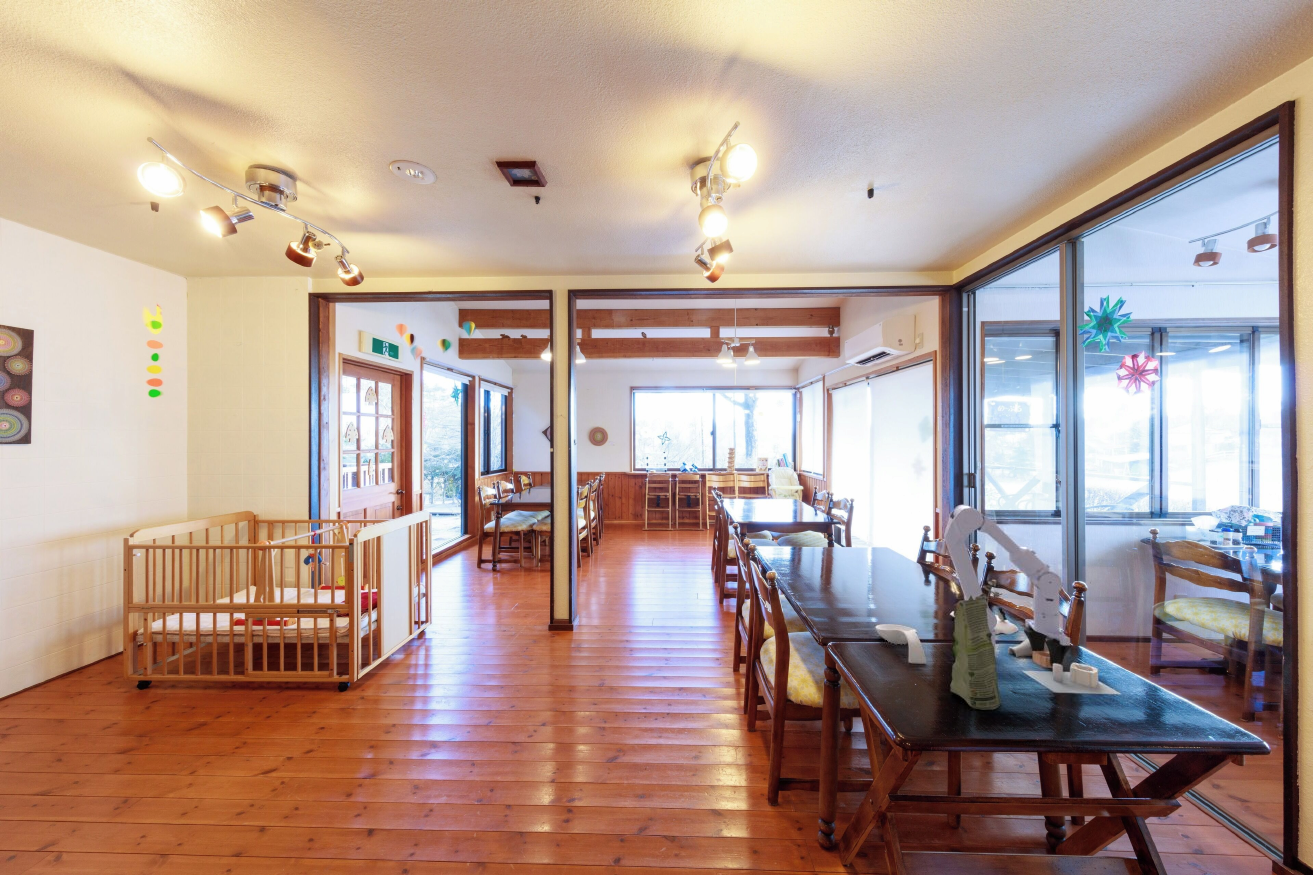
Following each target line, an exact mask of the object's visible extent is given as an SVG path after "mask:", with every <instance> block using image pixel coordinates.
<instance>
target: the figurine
mask: <svg viewBox="0 0 1313 875" xmlns="http://www.w3.org/2000/svg"><path fill="white" fill-rule="evenodd" d="M996 585H997V580H995V579H991V580H989V581H987V585H986V584H984V585H983V586H982V588H983V589H984V590H986V591H988V595H987V596H986V597H985V600H986V602H987V604H989V600H990V599H991V598H992V599H993V598H995V599H996V598H997V599H998V598H1000V596H1002V595H1003V593H1000V592H999V591H997V590H995V591H993V590H992V587H996ZM991 594H992V596H991ZM997 609H998V611H997V614H995V616H996V618H997V624H996V626H995V635H1000V634H1006V635H1012V634H1014V633H1016V632H1018V631H1019V628H1018V627H1017V626H1016V625H1015V624H1014V623H1011V622H1010V621H1009V620H1008V619H1007V617H1006V612H1005V611H1004V610H1003V608H1002V607H997ZM949 615H950V616H952V617H953V618H954V617H955V616H954V610H953V611H951V612H950V613H949Z"/></svg>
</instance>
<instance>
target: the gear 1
mask: <svg viewBox="0 0 1313 875" xmlns="http://www.w3.org/2000/svg"><path fill="white" fill-rule="evenodd" d="M1032 662H1033V663H1035V664H1036V665H1038V666H1040V667H1042V668H1046V669H1053V667H1052V666H1051V663H1050V654H1049V652H1045V651H1036V652H1035V651H1033V656H1032Z"/></svg>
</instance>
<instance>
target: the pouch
mask: <svg viewBox="0 0 1313 875" xmlns="http://www.w3.org/2000/svg"><path fill="white" fill-rule="evenodd" d="M985 597H987V595H986V593H984V592H982V594H981V595H980V596H979V597H975V599H974V600H973V598H972V596H970V598H969V600H965V599H962V600H959V601H957V603H955V604H953V608H954V610H953V611H954V616H955V617H954V616H953V619H954V631H953V634H952V636H953V637H954V645H953V646H952V652H953V654H954V655H955V662H954V663H953V664H952V666H951V670H952V671H951V677H952V679H951V683H950V692H951V693H953V694H956V695H957V696H959V697H961V698H962V699H964V701H965V702H966V703H967V704H968V705H969V707H971V708H972V709H977V710H984V711H985V710H986V711H988V710H995V709H997V708H999V707H1000V705H1001V704H1002V703H1001V696H1000V691H999V681H998V675H997V668H996V667H997V660H996V650H995V651H994V646H993V644H992V640H991V636H992V634H991V632H990V630H989V627H988V619H987V617H988V616H987V611H986V610H987V608H988V607H989V605H988V606H987V599H986V598H985Z"/></svg>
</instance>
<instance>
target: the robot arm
mask: <svg viewBox="0 0 1313 875" xmlns="http://www.w3.org/2000/svg"><path fill="white" fill-rule="evenodd" d="M975 530H976V531H979V532H981V533H983V534H987V535H988V536H990V538H991V539H992V540H994V541H995V542H996V543H997V544H998V545H1000V547H1002V548H1003V549H1004V550H1005V551H1006V552H1007V553H1008V559H1009V561H1010V562H1011V563H1012V564H1013V565H1014V566H1015V567H1016V568H1017V569H1018V570H1020V572H1021V573H1023V575H1024V576H1026V577H1027V578H1028V579H1029V580H1030V582H1031V583H1032V584H1034V585H1033V619H1025V627H1027V628H1026V629H1024V630H1023V632H1024V634H1025V635H1026V637H1027V638H1028V639H1029V642H1030V645H1031V648H1032V651H1035V652H1036V651H1044V644H1045V643H1046V645H1047V647H1048V650H1049V654H1050V663H1051V666H1052V667H1053V664H1054V663H1055V664H1060V665H1062V666H1063V662H1064V658H1065V656H1066V654H1067V653H1068V651H1069V650H1070V649H1071V648H1072V643H1071V638H1070V637H1068V635H1066V634H1064V629H1063V628H1061V626H1060V591H1061V590H1062V588H1063V586H1064V583H1063V582H1062V579H1061V577H1060V576H1059V574H1057V573H1055V572H1054V571H1052V570H1051V569H1050V568H1051V566H1050V565H1049V564H1048V563H1045V562H1043V561H1042V560H1041V559H1040V558H1039V557H1037V555H1036V554H1037V553H1036V551H1034V550H1033V549H1032V548H1030V549H1029V548H1028V547H1026V546H1018V544H1017V543H1015V541H1014V540H1013V539H1011V537H1010V536H1008V534H1007V533H1005V531H1004V530H1003V529H1001V527H999V526H998V525H997V524H996V523H995V521H993V520H991V519H990V518H989V517H987V516H986V515H984V514H982V513H981V512H980V510H978V509H977V508H974V507H972V506H970V505H969V504H959V505H957V506H955V507H954V509H953V510H952V511H951V512H950V513H949V515H948V520H947V524H946V527H945V530H944V533H943V538H944V542H945V544H946V547H947V550H948V553H949V556H950V559H951V561H952V564H953V567H954V570H955V573H956V575H957V578H958V582H959V585H960V587H961V590H962V592H963V593H962V594H963V600H969V598H970V596H972V598H973V600H974V599H975V597H979V596H980V595H981V594H982V593H983V591H982V588H981V585H980V583H979V579H978V577H977V574H976V571H975V568H974V566H973V563H972V560H971V557H970V554H969V552H968V548H967V545H966V542H965V541H966V540H967V538H968V537H969V535H971V534H972V533H973V532H974V531H975ZM988 604H989V603H988ZM988 604H987V606H988V608H987V610H986V611H987V616H988V617H987V619H988V627H989V630H990V632H991V634H992V636H991V640H992V644H993V646H994V651H995V652H996V634H995V626H996V624H997V618H996V616H995V615H996V613H994V612H993V611H992V610H991V609H990V608H989V605H988ZM1047 637H1048V638H1050V639H1051V640H1049V639H1047ZM1046 639H1047V640H1046Z"/></svg>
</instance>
